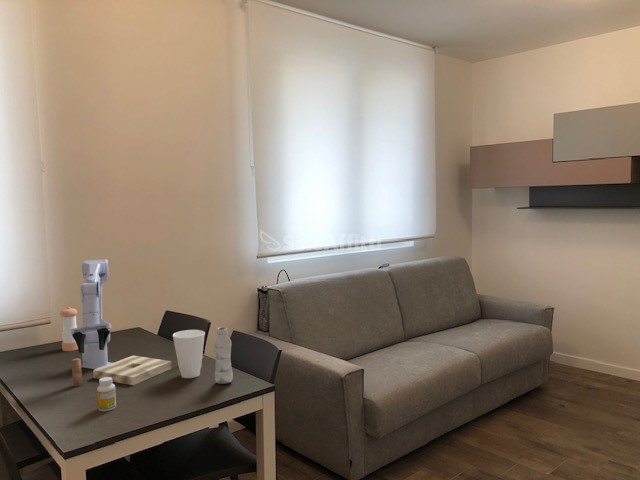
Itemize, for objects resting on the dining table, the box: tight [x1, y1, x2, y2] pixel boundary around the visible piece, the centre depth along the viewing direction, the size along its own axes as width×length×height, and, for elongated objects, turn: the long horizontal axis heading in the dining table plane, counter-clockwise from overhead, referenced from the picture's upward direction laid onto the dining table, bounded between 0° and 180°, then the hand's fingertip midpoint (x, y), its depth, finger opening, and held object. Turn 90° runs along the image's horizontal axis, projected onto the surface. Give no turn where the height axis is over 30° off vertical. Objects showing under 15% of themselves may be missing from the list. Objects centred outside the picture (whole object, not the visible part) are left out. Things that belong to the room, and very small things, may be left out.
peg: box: [71, 358, 83, 388], centre depth 194 cm, size 3×3×10 cm
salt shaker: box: [59, 306, 78, 352], centre depth 241 cm, size 7×7×19 cm
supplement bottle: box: [96, 377, 117, 412], centre depth 172 cm, size 5×5×10 cm
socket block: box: [92, 355, 172, 386], centre depth 207 cm, size 20×20×3 cm
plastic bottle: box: [213, 326, 234, 385], centre depth 193 cm, size 6×7×20 cm
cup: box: [172, 329, 206, 379], centre depth 203 cm, size 12×12×16 cm
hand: (91, 351), depth 194 cm, fingers open, 7 cm apart
